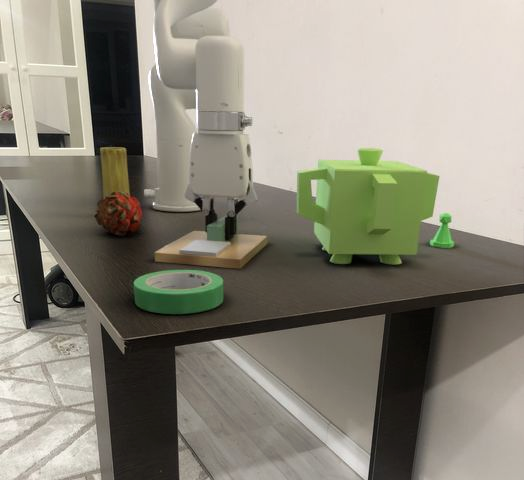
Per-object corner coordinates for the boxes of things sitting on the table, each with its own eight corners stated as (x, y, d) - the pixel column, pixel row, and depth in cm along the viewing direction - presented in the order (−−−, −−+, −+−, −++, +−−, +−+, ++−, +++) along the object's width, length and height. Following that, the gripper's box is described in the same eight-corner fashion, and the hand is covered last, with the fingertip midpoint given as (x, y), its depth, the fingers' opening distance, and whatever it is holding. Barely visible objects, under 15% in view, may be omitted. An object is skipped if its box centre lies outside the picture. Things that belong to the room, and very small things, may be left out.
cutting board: (154, 261, 89) (154, 252, 88) (194, 238, 105) (193, 230, 104) (240, 269, 86) (240, 259, 85) (267, 244, 102) (267, 236, 101)
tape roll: (126, 292, 74) (124, 273, 72) (205, 284, 78) (205, 265, 77) (147, 320, 64) (146, 297, 63) (236, 308, 69) (236, 287, 68)
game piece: (453, 248, 102) (459, 215, 100) (429, 246, 103) (434, 213, 101) (453, 243, 106) (458, 211, 103) (430, 242, 107) (434, 209, 104)
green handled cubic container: (287, 238, 106) (291, 142, 100) (404, 240, 108) (416, 145, 101) (303, 274, 83) (310, 152, 77) (452, 275, 85) (471, 156, 78)
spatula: (216, 230, 104) (216, 214, 103) (247, 233, 103) (248, 216, 102) (179, 253, 87) (178, 234, 86) (216, 256, 86) (215, 237, 85)
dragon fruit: (118, 249, 102) (116, 244, 113) (155, 219, 103) (149, 218, 114) (86, 210, 99) (87, 209, 110) (123, 180, 100) (121, 183, 111)
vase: (118, 220, 119) (112, 149, 113) (97, 217, 122) (91, 147, 116) (138, 216, 124) (134, 148, 118) (118, 213, 127) (113, 146, 121)
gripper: (274, 125, 92) (271, 237, 99) (181, 122, 95) (185, 231, 103) (263, 126, 85) (260, 246, 93) (164, 123, 89) (169, 239, 96)
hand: (221, 237), depth 98 cm, fingers closed on spatula, 2 cm apart
